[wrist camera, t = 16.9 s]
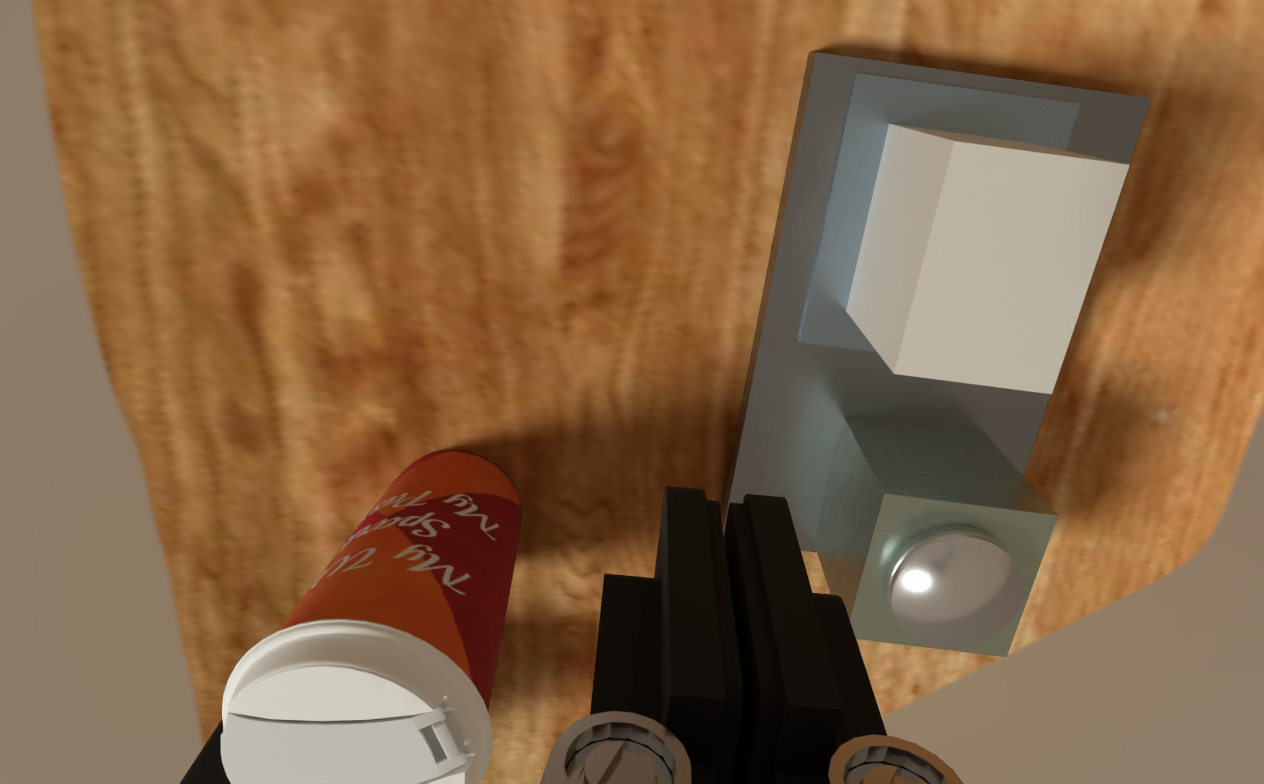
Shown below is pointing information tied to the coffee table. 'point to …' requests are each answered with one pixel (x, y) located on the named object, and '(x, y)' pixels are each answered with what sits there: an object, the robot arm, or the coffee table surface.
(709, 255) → the coffee table surface
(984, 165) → the block
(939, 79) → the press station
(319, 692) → the coffee cup
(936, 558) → the pin
